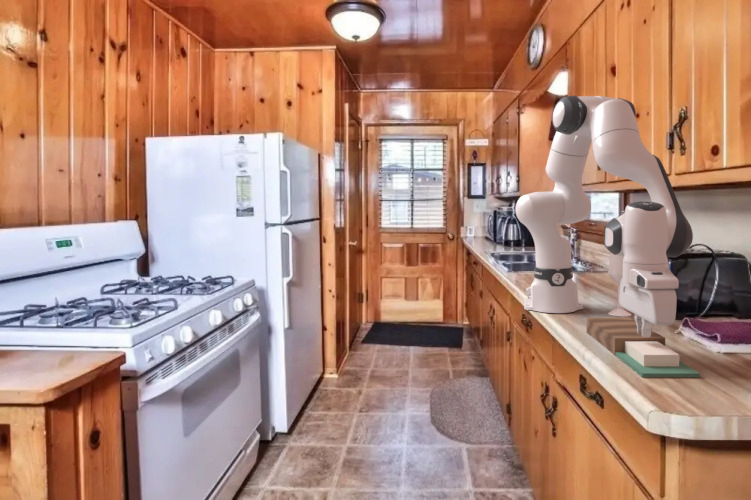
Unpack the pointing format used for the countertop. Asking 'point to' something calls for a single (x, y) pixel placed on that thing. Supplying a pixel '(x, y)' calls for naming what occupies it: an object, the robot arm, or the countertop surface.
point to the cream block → (651, 353)
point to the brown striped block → (617, 332)
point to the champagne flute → (617, 280)
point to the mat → (658, 368)
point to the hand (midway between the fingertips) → (643, 335)
